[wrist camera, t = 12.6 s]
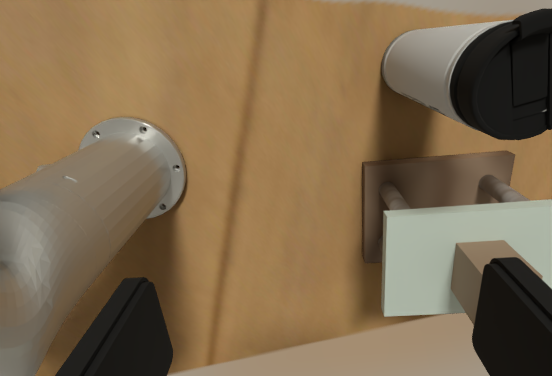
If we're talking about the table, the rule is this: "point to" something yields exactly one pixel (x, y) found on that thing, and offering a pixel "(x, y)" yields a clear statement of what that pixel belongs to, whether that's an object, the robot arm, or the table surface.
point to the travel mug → (480, 73)
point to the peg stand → (431, 188)
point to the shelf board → (436, 244)
